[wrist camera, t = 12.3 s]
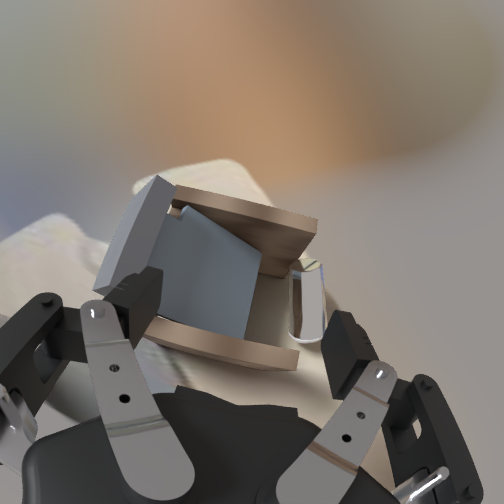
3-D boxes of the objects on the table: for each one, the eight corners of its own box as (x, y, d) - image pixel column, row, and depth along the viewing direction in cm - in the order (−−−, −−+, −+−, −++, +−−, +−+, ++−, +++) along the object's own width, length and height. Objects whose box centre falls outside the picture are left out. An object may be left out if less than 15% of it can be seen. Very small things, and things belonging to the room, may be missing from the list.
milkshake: (333, 253, 29) (332, 328, 32) (283, 256, 30) (289, 330, 33) (339, 272, 25) (336, 352, 28) (282, 276, 25) (288, 355, 29)
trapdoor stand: (154, 342, 29) (122, 326, 18) (185, 243, 35) (175, 184, 24) (266, 370, 29) (296, 370, 19) (285, 267, 35) (317, 219, 24)
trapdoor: (91, 292, 20) (108, 288, 16) (131, 199, 24) (158, 172, 20) (214, 341, 28) (254, 345, 23) (234, 260, 32) (273, 250, 27)
